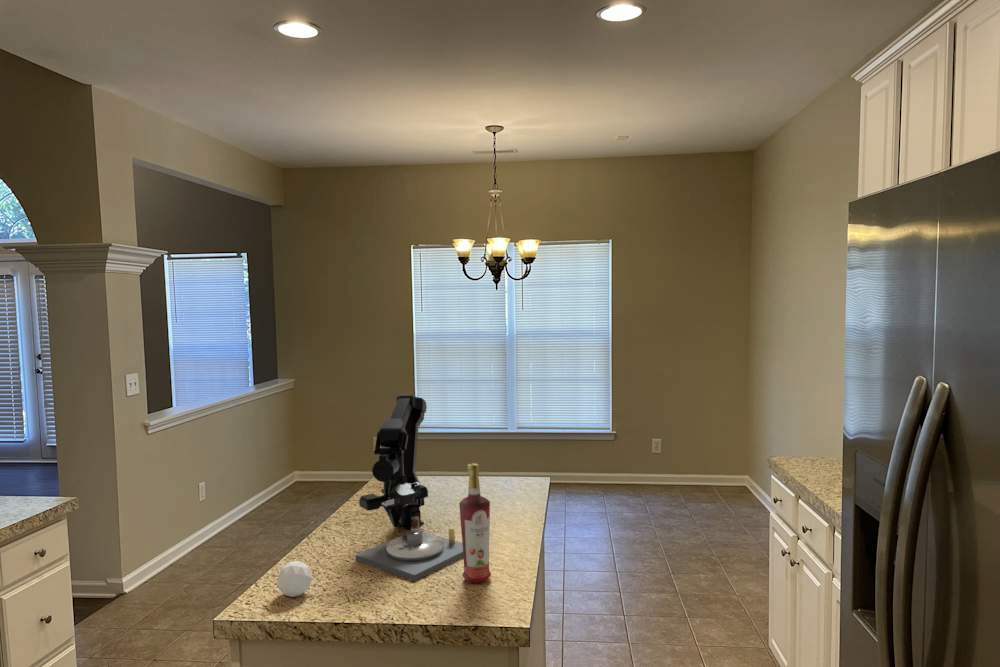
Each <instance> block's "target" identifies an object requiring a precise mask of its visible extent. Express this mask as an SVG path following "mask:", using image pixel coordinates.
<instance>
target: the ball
mask: <svg viewBox="0 0 1000 667" xmlns="http://www.w3.org/2000/svg"><path fill="white" fill-rule="evenodd" d="M312 579H313V574H312V571H311V568H309V566H308V565H307V564H306V563H304V562H302V561H300V560H299V561H298V560H297V561H296V560H295V561H289V562H287V564H285V565H284V566H282V567H281V568H280V570H279V573H278V575H277V578H276V582H277V583H276V585H277V588H278V589H279V591H280V592H281V593H282V594H283V595H285V596H288V597H292V598H294V597H300V596H302V595H303V594H304V593H305V592H307V591H308V590H309V589H310V585H311V583H312V582H311V581H312Z"/></svg>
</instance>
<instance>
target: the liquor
mask: <svg viewBox="0 0 1000 667" xmlns="http://www.w3.org/2000/svg"><path fill="white" fill-rule="evenodd" d="M467 473H468V493H467V496H465V497H464V498H462V499H461V501H459V518H460V519H459V521H460V531H461V541H462V542H461V543H463V573H462V578H463V579H465V580H466V582H469V583H470V584H473V585H475V584H476V585H480V584H483V583H486V581H487V580H488V579H489V578H490V577H491V576H492V572H491V571H490V527H491V526H490V520H491V519H490V517H491V516H490V515H491V512H490V511H491V509H490V508H491V506H490V505H491V502H490V500H489V499H488V498H486V497H485V496H482V495H481V489H480V488H481V487H480V480H479V476H480V475H479V474H480V464H479V463H474V462H473V463H468V464H467Z"/></svg>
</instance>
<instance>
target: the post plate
mask: <svg viewBox="0 0 1000 667" xmlns="http://www.w3.org/2000/svg"><path fill="white" fill-rule="evenodd" d="M422 534H428V533H427V532H423V531H422ZM429 534H430V533H429ZM405 535H407V533H406V534H403V535H402V536H405ZM430 535H432V534H430ZM455 536H456V534H455V527H452V526H451V527H448V538H445V537H442V536H439V537H440V538H441V539H442V540H443V542H444V549H443V551H442V552H441V553H440V554H439V555H437V556H435V557H432V558H429V559H425V560H420V561H400V560H395V559H392V558H390V557H389V556H388V555H387V550H386V546H387V544H388V543H389V542H390V541H391V540H389V541H386V542H384V543H382V544H379V545H376V546H374V547H372V548H369V549H367V550H364V551H362V552H360V553H357V554H355V561H356V562H359V563H361V564H363V565H367V566H370V567H373V568H375V569H378V570H381V571H385V572H387V573H390V574H393V575H396V576H399V577H403V578H405V579H407V580H410V581H413V582H416V581H418V580H419V579H421V578H424V577H427V576H428V575H430V574H432V573H434V572H437V571H438V570H440V569H443V568H444V567H447V566H448V565H450V564H453V563H454V562H456V561H458V560H460V559H462V558H463V559H464V557H463V543H462V542H459V541H456V539H455V538H456V537H455Z"/></svg>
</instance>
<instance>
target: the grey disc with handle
mask: <svg viewBox="0 0 1000 667" xmlns="http://www.w3.org/2000/svg"><path fill="white" fill-rule="evenodd" d="M422 532H423V531H422V530H420V526H419V517H412V521H411V529H410V530H409V531H408V532H406V534H407V535H406V534H404V535H405V536H403V535H401V536H398V537H395V538H393V539H391V540H389V541H390V542H389V541H388V542H389V543H388V544H387V546H386V550H387V555H388V556H389V557H390V558H392V559H395V560H400V561H420V560H425V559H429V558H432V557H435V556H437V555H439V554H440V553H441V552H442V551H443V549H444V542H443V540H442V539H441V538H440V537H441V536H438V535H436V534H435V535H434V534H431V535H430V533H427V534H422Z"/></svg>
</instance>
